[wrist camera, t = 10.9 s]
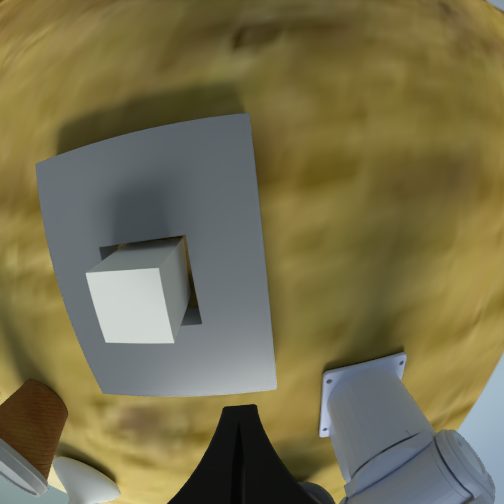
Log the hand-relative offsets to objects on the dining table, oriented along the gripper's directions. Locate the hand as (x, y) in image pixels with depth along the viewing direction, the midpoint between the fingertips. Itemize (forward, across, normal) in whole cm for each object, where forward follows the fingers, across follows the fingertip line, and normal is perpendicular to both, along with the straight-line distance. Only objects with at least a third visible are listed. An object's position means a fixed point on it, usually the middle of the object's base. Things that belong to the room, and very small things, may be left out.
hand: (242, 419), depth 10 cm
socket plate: (+9, +5, -4) cm, 11 cm away
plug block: (+10, +5, -4) cm, 12 cm away
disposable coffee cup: (+10, +24, +10) cm, 28 cm away
